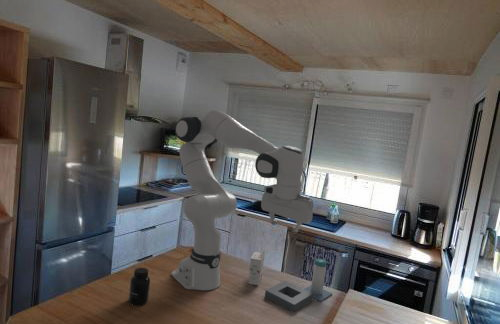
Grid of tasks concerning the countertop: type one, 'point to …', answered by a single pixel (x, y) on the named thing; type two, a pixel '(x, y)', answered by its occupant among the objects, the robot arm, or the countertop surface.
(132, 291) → the supplement bottle
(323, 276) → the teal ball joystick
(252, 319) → the countertop surface
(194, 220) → the robot arm
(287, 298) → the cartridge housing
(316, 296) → the rubber mat
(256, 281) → the ink cartridge box
